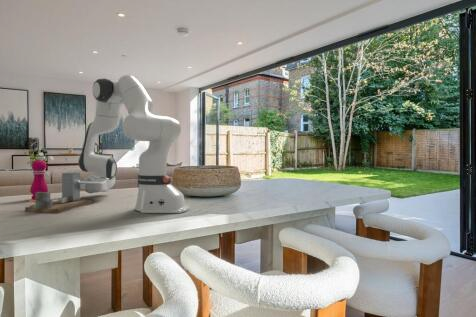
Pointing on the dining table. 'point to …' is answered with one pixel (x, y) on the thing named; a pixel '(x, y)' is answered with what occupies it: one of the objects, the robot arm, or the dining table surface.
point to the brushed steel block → (70, 187)
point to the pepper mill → (38, 178)
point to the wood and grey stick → (35, 201)
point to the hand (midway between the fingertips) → (74, 187)
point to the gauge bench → (53, 204)
